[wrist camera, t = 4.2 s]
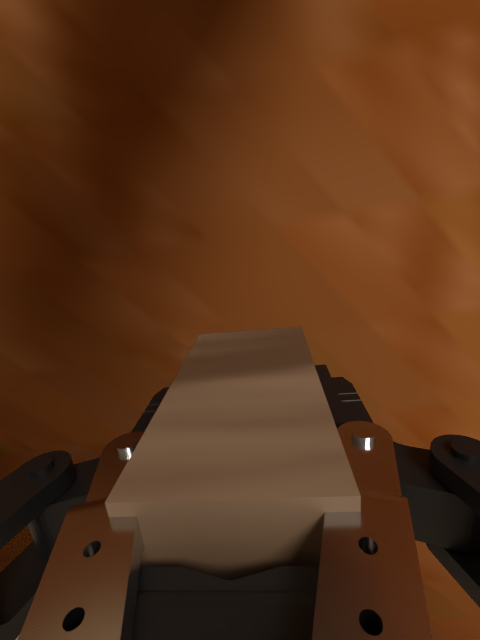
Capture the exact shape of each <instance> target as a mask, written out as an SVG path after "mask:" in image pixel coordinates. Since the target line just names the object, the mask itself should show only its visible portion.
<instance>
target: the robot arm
mask: <svg viewBox="0 0 480 640" xmlns="http://www.w3.org/2000/svg"><path fill="white" fill-rule="evenodd" d="M315 368H316V371H317V374H318V377H319V379H320V382H321V385H322V388H323V391H324V394H325V396H326V399H327V402H328V405H329V408H330V411H331V413H332V416H333V419H334V422H335V425H336V428H337V430H338V433H339V436H340V439H341V442H342V444H343V447H344V450H345V453H346V456H347V459H348V461H349V464H350V467H351V470H352V473H353V476H354V478H355V481H356V484H357V487H358V490H359V492H360V495H361V512H325V516H324V526H323V536H322V545H321V555H320V565H319V566H281V567H277V568H274V569H270V570H267V571H263V572H260V573H256V574H253V575H249V576H246V577H242V578H239V579H235V580H225V579H222V578H218V577H215V576H212V575H208V574H205V573H202V572H198V571H195V570H192V569H188V568H185V567H140V562H141V556H142V552H143V550H144V549H145V546H144V543H143V539H142V535H141V531H140V527H139V523H138V519H137V516H136V517H109V516H108V513H107V509H106V506H105V501H106V500H107V498H108V496H109V494H110V492H111V491H112V489H113V487H114V485H115V484H116V482H117V480H118V478H119V476H120V475H121V473H122V471H123V469H124V468H125V466H126V464H127V462H128V460H129V459H130V457H131V455H132V453H133V452H134V450H135V448H136V446H137V444H138V443H139V441H140V439H141V437H142V436H143V434H144V432H145V430H146V428H147V427H148V425H149V423H150V421H151V420H152V418H153V416H154V414H155V412H156V411H157V409H158V407H159V405H160V404H161V402H162V400H163V398H164V396H165V395H166V393H167V391H168V389H169V388H170V387H168V388H163V389H162V390H161V391H159V392H158V393H157V394H155V395H154V397H153V398H152V400H151V402H150V403H149V405H148V406H147V408H146V410H145V412H144V413H143V414H142V416H141V418H140V419H139V421H138V422H137V424H136V426H135V427H134V429H133V430H132V432H130V433H126V434H124V435H121V436H119V437H117V438H115V439H114V440H112V441H111V442H110V443H108V444H107V445H106V446H105V448H104V449H103V451H102V453H101V456H100V458H97V459H93V460H90V461H86V462H82V463H78V464H74V465H73V462H72V459H71V456H70V454H69V453H68V452H65V451H52V452H48V453H45V454H42V455H39V456H37V457H35V458H33V459H31V460H30V461H28V462H27V463H25V464H24V465H22V466H21V467H19V468H18V469H17V470H15V471H14V472H12V473H11V474H10V475H8V476H7V477H5V478H4V479H3V480H1V481H0V549H1V548H2V547H3V546H4V545H6V544H7V543H8V542H9V541H10V540H11V539H12V538H13V537H15V536H16V535H17V534H18V533H19V532H20V531H21V530H22V529H23V528H25V527H26V526H27V525H28V527H29V530H30V532H31V535H32V538H33V540H34V541H33V542H32V543H31V544H30V545H29V546H28V547H27V548H26V549H25V550H24V551H23V552H21V553H20V554H19V555H18V556H17V557H16V558H15V559H14V560H13V561H12V562H11V563H10V564H9V565H8V566H7V567H6V568H5V569H4V570H3V571H2V572H1V573H0V640H15V639H16V638H17V637H18V636H19V635H20V636H19V638H18V640H433V637H432V632H431V626H430V621H429V615H428V609H427V604H426V598H425V593H424V587H423V582H422V576H421V570H420V565H419V559H418V554H417V548H416V543H415V540H417V541H421V542H425V543H426V545H427V546H428V548H429V550H430V551H431V552H432V553H433V555H434V556H435V557H436V558H437V559H438V560H439V562H440V563H441V564H442V565H443V566H444V567H445V568H446V570H447V571H448V572H449V573H450V574H451V575H452V576H453V578H454V579H455V580H456V581H457V582H458V583H459V584H460V586H461V587H462V588H463V589H464V590H465V591H466V592H467V594H468V595H469V596H470V597H471V598H472V599H473V600H474V602H475V603H476V604H477V605H478V606H479V607H480V441H479V440H476V439H473V438H470V437H466V436H461V435H442V436H439V437H436V438H435V439H434V440H433V441H432V442H431V446H430V450H428V449H422V448H416V447H410V446H405V445H402V444H398V443H396V442H393V439H392V436H391V435H390V433H389V432H388V431H387V430H385V429H384V428H382V427H381V426H379V425H377V424H374V423H373V421H372V420H371V418H370V416H369V414H368V412H367V410H366V409H365V407H364V405H363V403H362V401H361V400H360V397H359V396H358V394H357V392H356V390H355V388H354V386H353V385H352V383H350V382H349V381H347V380H346V379H344V378H343V377H333V378H331V376H330V373H329V371H328V369H327V366H326V365H315Z"/></svg>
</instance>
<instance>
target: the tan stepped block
mask: <svg viewBox="0 0 480 640" xmlns="http://www.w3.org/2000/svg"><path fill="white" fill-rule="evenodd" d="M105 506H106V509H107V513H108V516H109V517H136V516H137V519H138V523H139V527H140V531H141V535H142V539H143V543H144V546H145V549H144V550H143V552H142V556H141V562H140V567H185V568H188V569H192V570H195V571H198V572H202V573H205V574H208V575H212V576H215V577H218V578H222V579H225V580H235V579H239V578H242V577H246V576H249V575H253V574H256V573H260V572H263V571H267V570H270V569H274V568H277V567H281V566H319V565H320V555H321V545H322V536H323V526H324V516H325V512H361V495H360V492H359V490H358V487H357V484H356V481H355V478H354V476H353V473H352V470H351V467H350V464H349V461H348V459H347V456H346V453H345V450H344V447H343V444H342V442H341V439H340V436H339V433H338V430H337V428H336V425H335V422H334V419H333V416H332V413H331V411H330V408H329V405H328V402H327V399H326V396H325V394H324V391H323V388H322V385H321V382H320V379H319V377H318V374H317V371H316V368H315V365H314V363H313V360H312V357H311V354H310V351H309V348H308V346H307V343H306V340H305V337H304V334H303V331H302V329H301V327H289V328H276V329H263V330H250V331H237V332H225V333H212V334H199V336H198V338H197V340H196V341H195V343H194V345H193V347H192V348H191V350H190V352H189V354H188V356H187V357H186V359H185V361H184V363H183V364H182V366H181V368H180V370H179V372H178V373H177V375H176V377H175V379H174V380H173V382H172V384H171V386H170V388H169V389H168V391H167V393H166V395H165V396H164V398H163V400H162V402H161V404H160V405H159V407H158V409H157V411H156V412H155V414H154V416H153V418H152V420H151V421H150V423H149V425H148V427H147V428H146V430H145V432H144V434H143V436H142V437H141V439H140V441H139V443H138V444H137V446H136V448H135V450H134V452H133V453H132V455H131V457H130V459H129V460H128V462H127V464H126V466H125V468H124V469H123V471H122V473H121V475H120V476H119V478H118V480H117V482H116V484H115V485H114V487H113V489H112V491H111V492H110V494H109V496H108V498H107V500H106V501H105Z"/></svg>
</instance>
